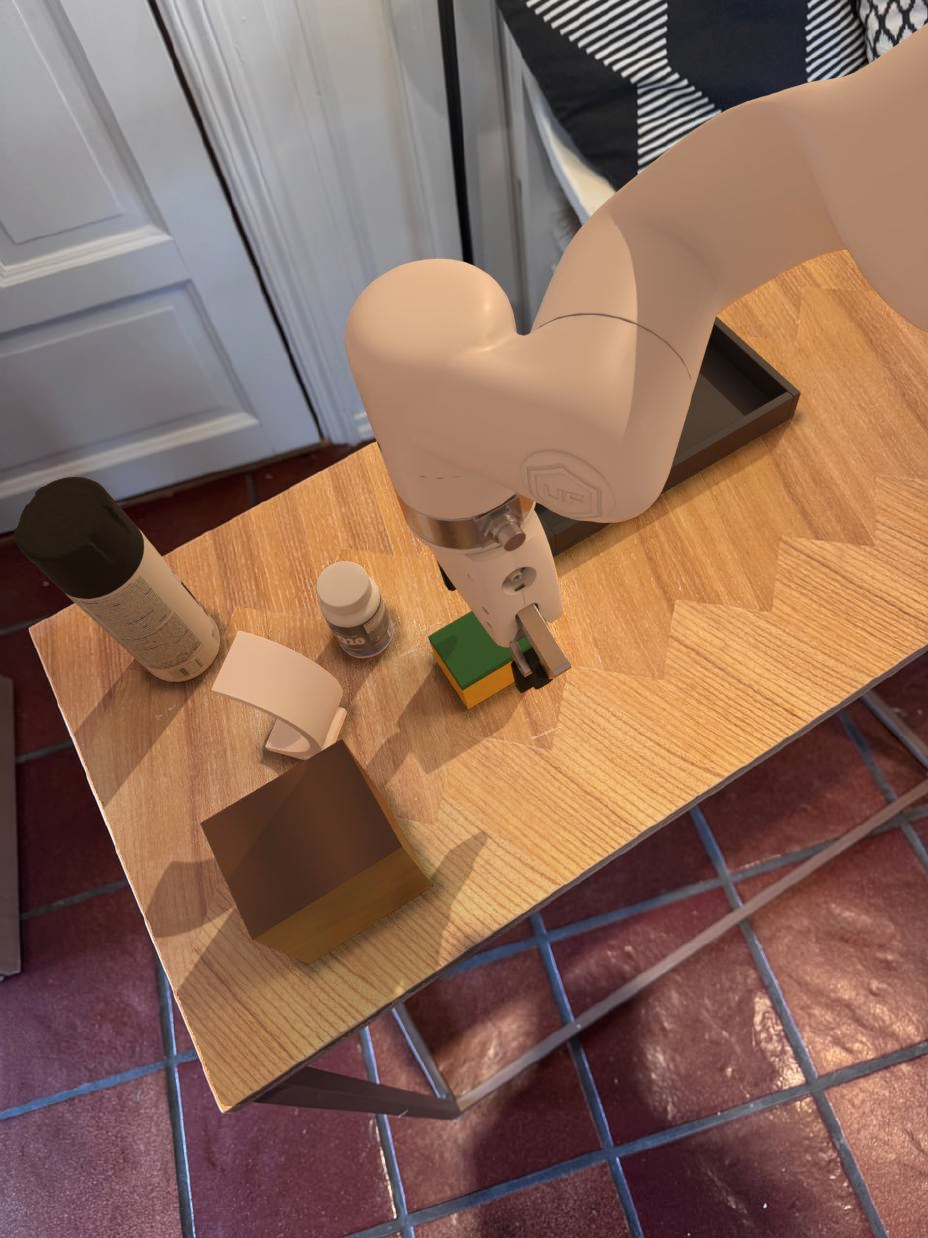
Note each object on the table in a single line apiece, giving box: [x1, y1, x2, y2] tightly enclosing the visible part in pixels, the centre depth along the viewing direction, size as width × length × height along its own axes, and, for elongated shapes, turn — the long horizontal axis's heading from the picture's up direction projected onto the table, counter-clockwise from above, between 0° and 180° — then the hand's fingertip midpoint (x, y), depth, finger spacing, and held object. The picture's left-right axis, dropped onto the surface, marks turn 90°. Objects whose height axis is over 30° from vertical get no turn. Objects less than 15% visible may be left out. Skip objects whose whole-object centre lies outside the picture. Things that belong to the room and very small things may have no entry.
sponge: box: [427, 610, 532, 710], centre depth 68 cm, size 7×5×4 cm
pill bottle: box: [315, 560, 394, 659], centre depth 69 cm, size 5×5×8 cm
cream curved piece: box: [210, 630, 348, 761], centre depth 64 cm, size 5×6×12 cm
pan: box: [534, 315, 802, 558], centre depth 77 cm, size 26×14×3 cm, turn 121°
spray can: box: [13, 476, 221, 683], centre depth 65 cm, size 7×7×20 cm
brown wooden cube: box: [199, 738, 434, 965], centre depth 58 cm, size 10×8×12 cm
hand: (500, 627), depth 63 cm, fingers open, 9 cm apart
